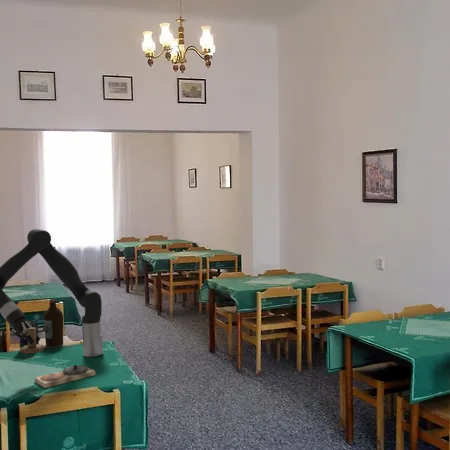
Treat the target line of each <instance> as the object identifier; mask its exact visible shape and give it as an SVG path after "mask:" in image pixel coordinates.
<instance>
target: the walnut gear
mask: <svg viewBox="0 0 450 450" xmlns="http://www.w3.org/2000/svg"><path fill="white" fill-rule="evenodd" d="M27 332H28V334H29V335H30V336H31V338H32V339H33V340H34V343H33V344H30V343H28V346H24V347H21V348H20V347H19V350H20V349H21V352H20V353H21V354H25V355H26V354H27V355H28V354H35V353H40V352H42V351H44V350H45V346H44V344H40V343H39V344H36V328H28V329H27ZM29 335H28V336H29Z"/></svg>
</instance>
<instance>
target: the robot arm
mask: <svg viewBox="0 0 450 450" xmlns="http://www.w3.org/2000/svg"><path fill="white" fill-rule="evenodd" d="M26 238H27V242H28V243H27V244H26V245H25V246H24V247H23V248H22V249H21V250H20V251H19V252H17V253H16V254H13V256H11V257H10V258H8V259H7V260H6V261H5V262H4V263H3V264H2V265H1V266H0V314H1V316H2V317H3V318H4V319H5V321H6V322H7V323H8V324H9V326H10V327H12V329H11V331H10V332H11V333H12V334H14V335H15V336H16V337H18V338H19V340H20V339H22V338H24V339H26V340H27V341H28V343H30V344H33V343H34V340H33V339H32V338H31V336H30V335H29V334H28V332H27V329H28V328H36V332H37V331H38V332H39V328H38V329H37V327H36V325H35V323H34V321H35V320H31V321H32V322H29V321H30V320H28V319H26V314H25V313H24V312H23V311H22V310H21V308H19V307H18V305H17V304H16V303H15V302H14V301H13V300H12V299H11V298H10V296H8V294H7V293H6V292H5V291H4V290H3V289H4V288H5V286H7V283H8V282H9V281H10V280H11V279H12V278H13V277H14V276H15V275H16V274H17V273H18V272H19V271H20V269H22V268H23V266H25V265H26V264H27V263H28V262H29V261H30V260H31V259H33V258H34V257H35V256H36V255H38V254H39V255H40V256H41V257H42V258H43V260H44V261H45V262H46V264H47V266H48V267H49V268H50V269H51V270H52V272H53V273H54V274H55V275H56V277H57V278H58V279H59V280H60V281H61V282H62V283H63V285H64V286H66V288H68V290H69V291H70V292H71V293H72V295H73V297H74V298H75V299H76V300H77V302H78V304H79V305H80V306H81V307H82V308H84V315H83V316H82V317H81V324H82V325H81V330H82V353H83V354H82V355H83V356H84V357H85V358H86V357H87V358H90V357H98V356H100V355H103V354H104V341H103V335H102V333H101V332H102V331H101V317H102V308H103V307H102V303H103V301H102V298H101V295H100V293H99V292H97V291H94V290H93V291H92V290H90V289H89V288H88V287H87V286H86V285H85V284H84V283H83V281H82V280H81V277H80V275H79V273H78V270H77V269H76V267H75V266H74V264H73V263H72V262H71V261H70V260H69V259H68V258H67V257H66V256H65V255H63V253H61V252H60V251H58V250H57V249H56V248H55V247H54V246H53V244H52V243H51V242H52V236H51V233H49V231H47V230H45V229H41V228H40V229H39V228H34V229H31V230H30V231H29V232H28V233H27V237H26ZM19 333H20V334H19ZM28 335H29V336H28ZM40 340H41V337H40V336H39V335H37V334H36V342H39V343H40Z"/></svg>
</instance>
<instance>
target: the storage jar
mask: <svg viewBox="0 0 450 450" xmlns="http://www.w3.org/2000/svg"><path fill="white" fill-rule="evenodd" d="M28 321H29V322H32V321H34V323H35V325H36V327H37V329H38V331H37V332H36V334H37V335H38V334H39V325H38V321H36V320H28ZM19 335H20V333H19ZM38 336H39V335H38ZM36 344H39V345H40V341H39V342H36ZM24 346H28V341H27V340H26V339H24V338H22V339H20V338H19V352H20V353H21V349H20V348H21V347H24Z"/></svg>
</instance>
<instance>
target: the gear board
mask: <svg viewBox="0 0 450 450" xmlns="http://www.w3.org/2000/svg"><path fill="white" fill-rule="evenodd" d="M92 376H93V377H94V376H96V370H94V369H92V368H90V367H88V366H86V365H78V364H75V365H73V366H72V365H71V366H69V367H65V368H64V369H62V370H60V371H57V372H52V373H47V374H44V375H38V376H35V377H34V383H35V384H37V385H39V386H40V387H42V388H44V389H46V388H51V387H55V386H58V385H62V384H66V383H70V382H73V381H77V380H82V379H85V378H89V377H92Z"/></svg>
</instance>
